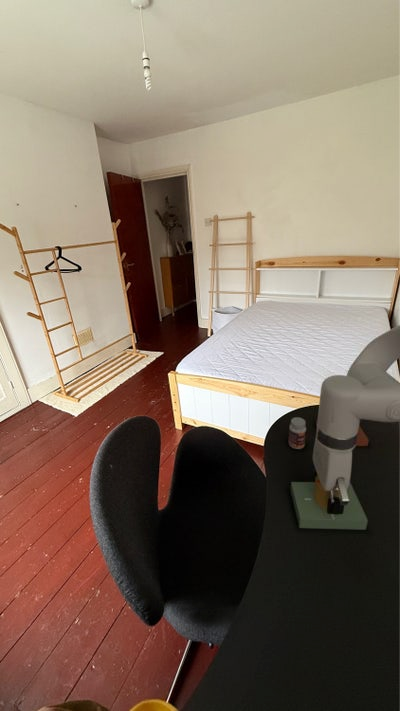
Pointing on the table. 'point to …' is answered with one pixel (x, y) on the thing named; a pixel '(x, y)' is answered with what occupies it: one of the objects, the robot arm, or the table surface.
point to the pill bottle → (297, 433)
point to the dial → (322, 494)
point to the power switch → (359, 437)
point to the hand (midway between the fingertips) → (327, 493)
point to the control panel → (318, 517)
